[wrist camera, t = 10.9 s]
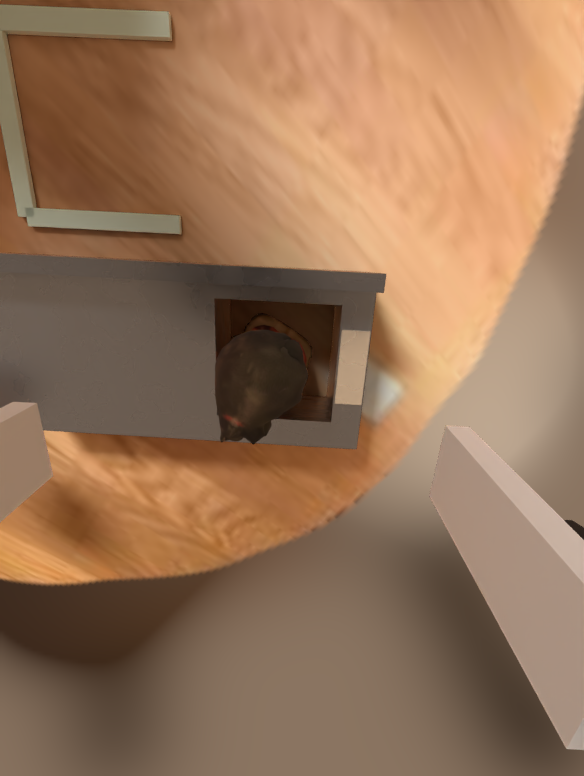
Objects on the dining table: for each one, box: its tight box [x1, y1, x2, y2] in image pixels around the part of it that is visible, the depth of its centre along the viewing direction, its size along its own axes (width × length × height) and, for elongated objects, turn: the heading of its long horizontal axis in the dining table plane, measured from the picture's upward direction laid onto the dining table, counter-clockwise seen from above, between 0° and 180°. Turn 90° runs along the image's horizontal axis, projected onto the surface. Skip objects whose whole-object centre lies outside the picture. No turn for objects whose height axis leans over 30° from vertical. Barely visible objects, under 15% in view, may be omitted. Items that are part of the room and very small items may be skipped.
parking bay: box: [0, 4, 182, 234], centre depth 23 cm, size 12×12×1 cm
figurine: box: [215, 313, 312, 444], centre depth 22 cm, size 6×6×12 cm
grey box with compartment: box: [0, 253, 386, 449], centre depth 25 cm, size 26×12×7 cm, turn 87°
